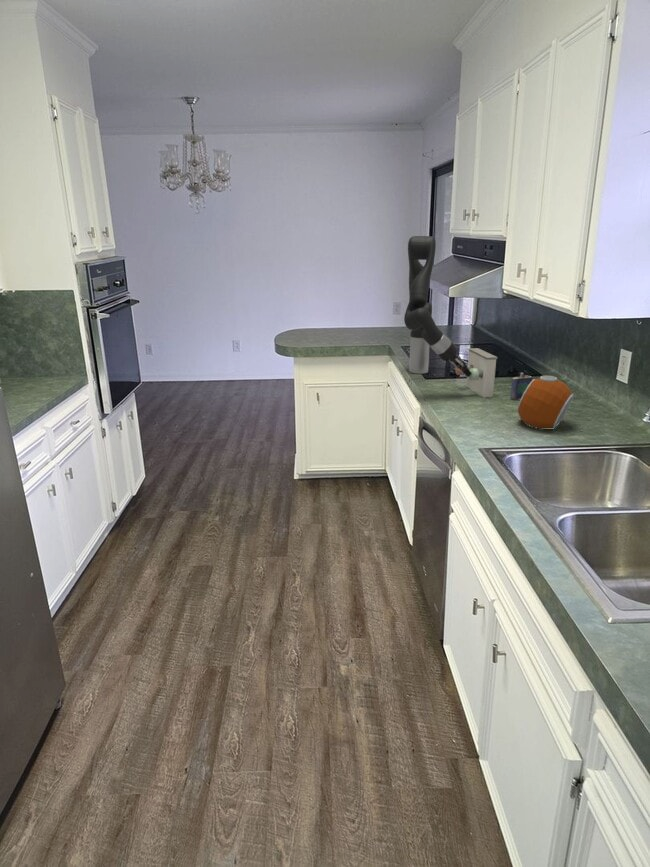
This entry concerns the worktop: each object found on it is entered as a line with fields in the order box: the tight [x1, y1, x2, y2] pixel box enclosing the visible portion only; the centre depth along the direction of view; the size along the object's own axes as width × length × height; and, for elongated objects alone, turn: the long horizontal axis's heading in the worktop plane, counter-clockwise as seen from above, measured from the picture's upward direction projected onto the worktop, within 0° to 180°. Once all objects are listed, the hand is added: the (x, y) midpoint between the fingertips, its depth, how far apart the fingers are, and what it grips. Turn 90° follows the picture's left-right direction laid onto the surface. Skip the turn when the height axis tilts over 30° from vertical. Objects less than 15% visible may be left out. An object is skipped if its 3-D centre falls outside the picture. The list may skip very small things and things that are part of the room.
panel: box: [465, 347, 498, 398], centre depth 247 cm, size 19×4×17 cm, turn 10°
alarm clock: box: [516, 375, 574, 429], centre depth 206 cm, size 19×18×17 cm
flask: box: [509, 372, 533, 400], centre depth 238 cm, size 9×3×11 cm, turn 109°
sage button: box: [469, 368, 483, 380], centre depth 241 cm, size 5×8×5 cm, turn 100°
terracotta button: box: [454, 365, 473, 376], centre depth 250 cm, size 5×8×5 cm, turn 100°
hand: (469, 374), depth 241 cm, fingers closed
